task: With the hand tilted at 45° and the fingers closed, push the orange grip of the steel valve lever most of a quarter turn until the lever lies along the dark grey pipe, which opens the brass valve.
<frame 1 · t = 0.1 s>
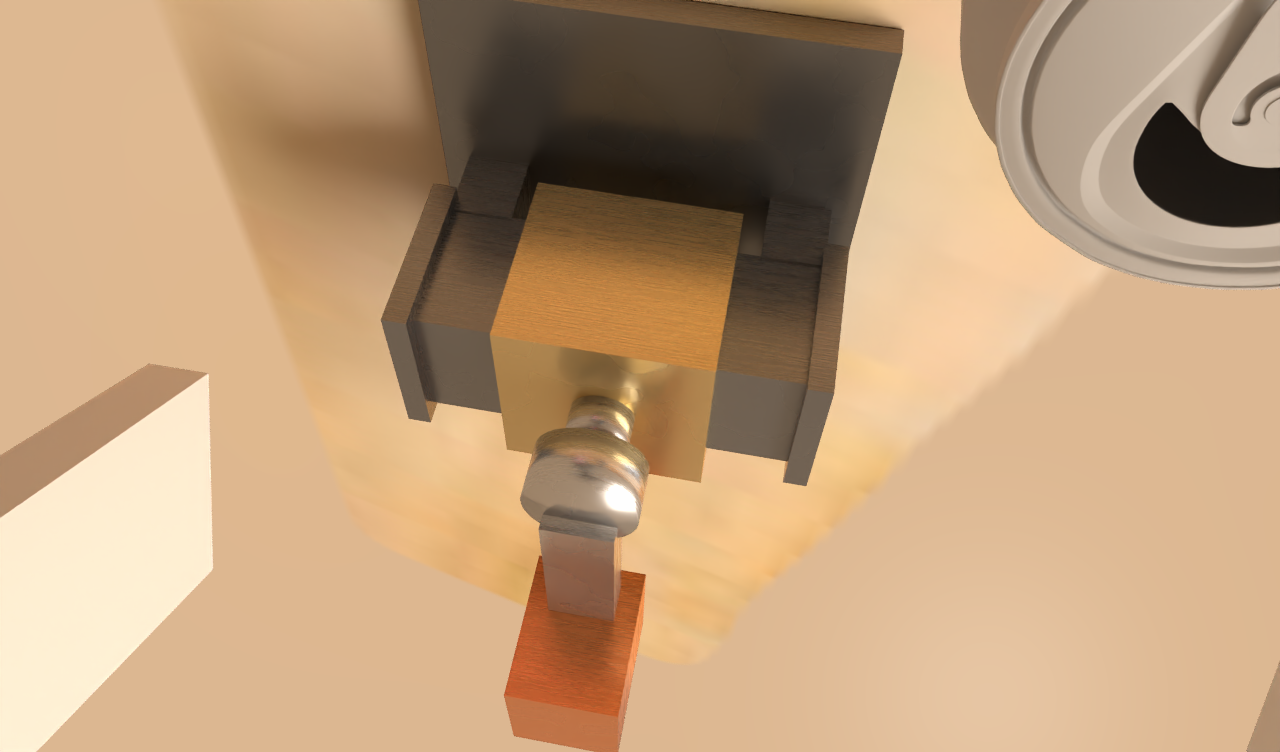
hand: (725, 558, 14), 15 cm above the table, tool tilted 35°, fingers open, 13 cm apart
valve body: (651, 206, 32), on the table
valve lever: (576, 604, 29), point 10 cm above the table, hinge at 0.0°
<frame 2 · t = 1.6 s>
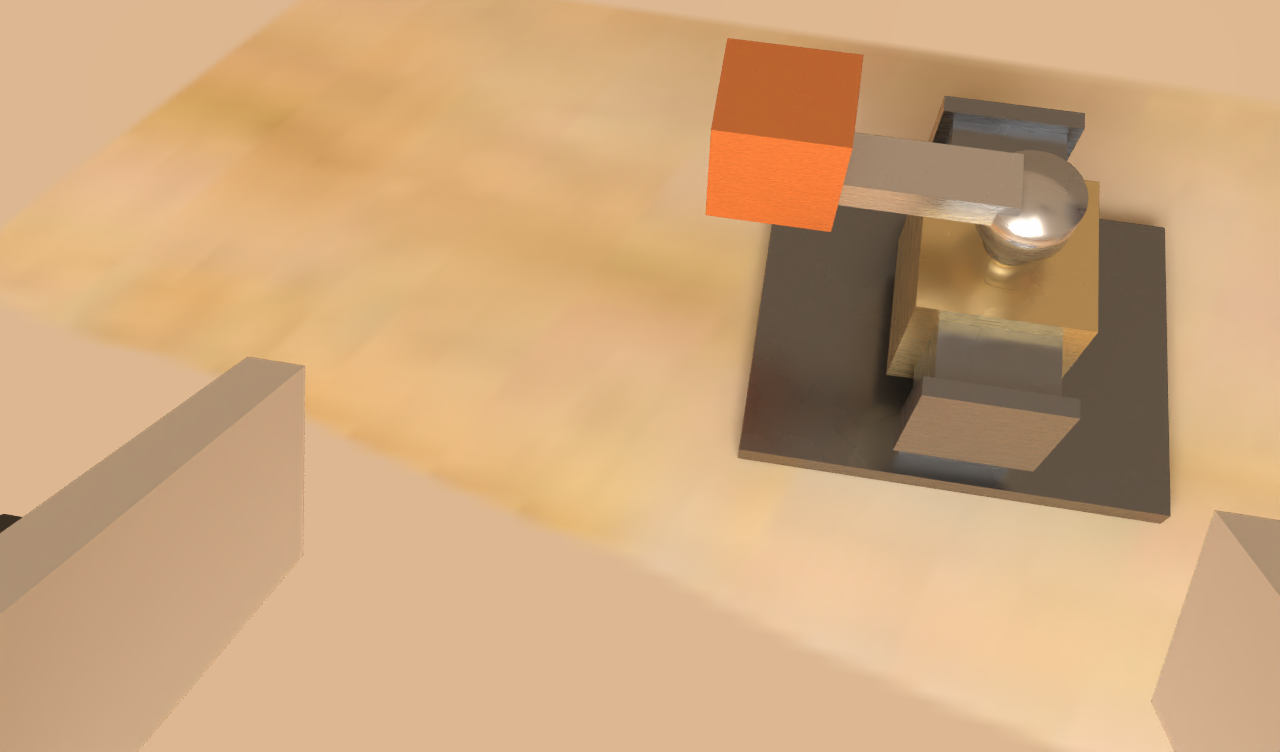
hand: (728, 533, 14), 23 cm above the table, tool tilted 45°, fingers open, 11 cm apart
valve body: (955, 344, 40), on the table
valve lever: (904, 157, 31), point 10 cm above the table, hinge at 0.0°
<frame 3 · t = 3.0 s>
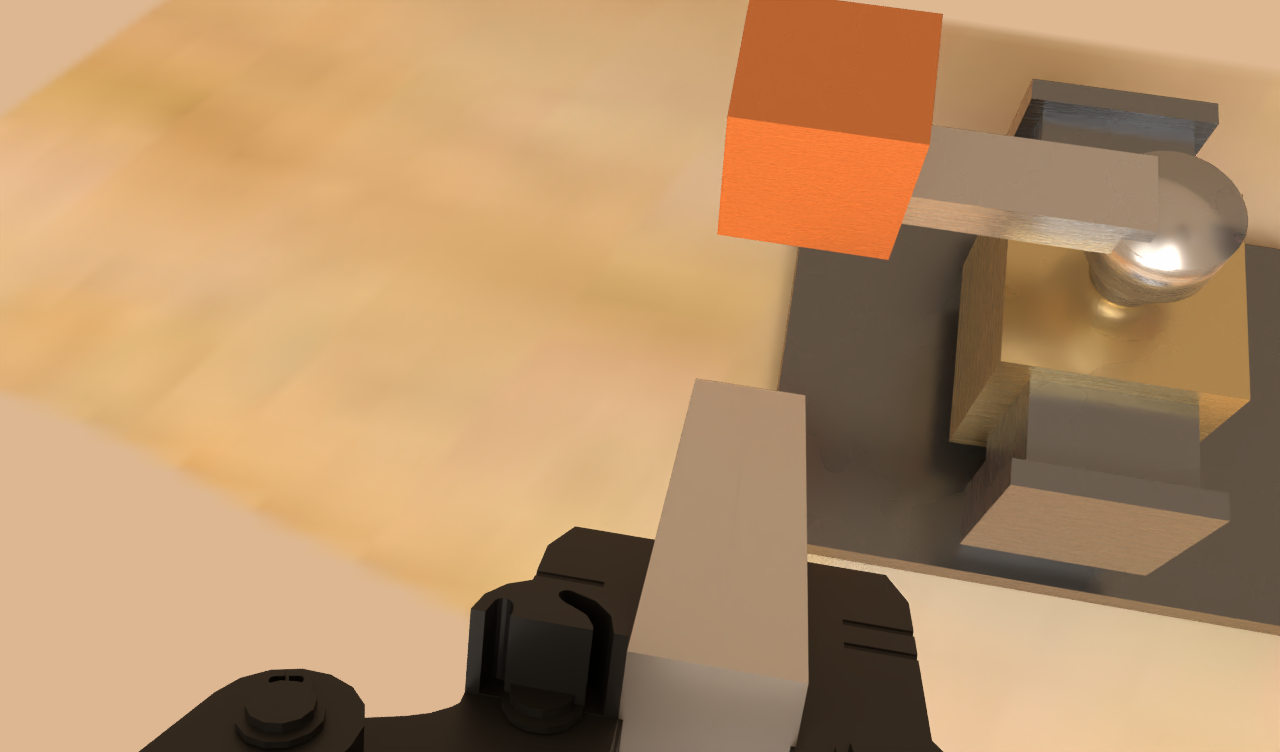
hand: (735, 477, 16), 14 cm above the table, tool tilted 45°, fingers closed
valve body: (1032, 398, 31), on the table
valve lever: (994, 159, 22), point 10 cm above the table, hinge at 0.0°
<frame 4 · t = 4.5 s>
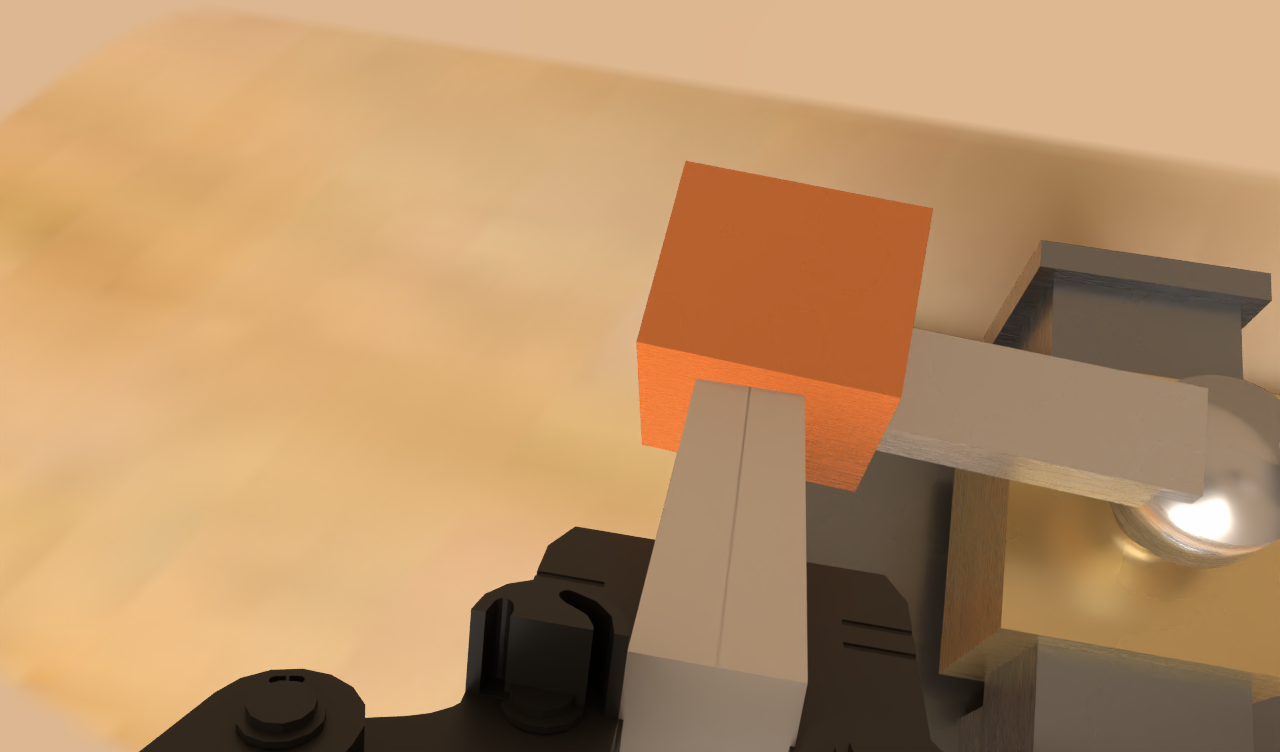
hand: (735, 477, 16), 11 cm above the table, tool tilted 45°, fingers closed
valve body: (1040, 596, 26), on the table
valve lever: (993, 386, 17), point 10 cm above the table, hinge at -3.3°, touching gripper
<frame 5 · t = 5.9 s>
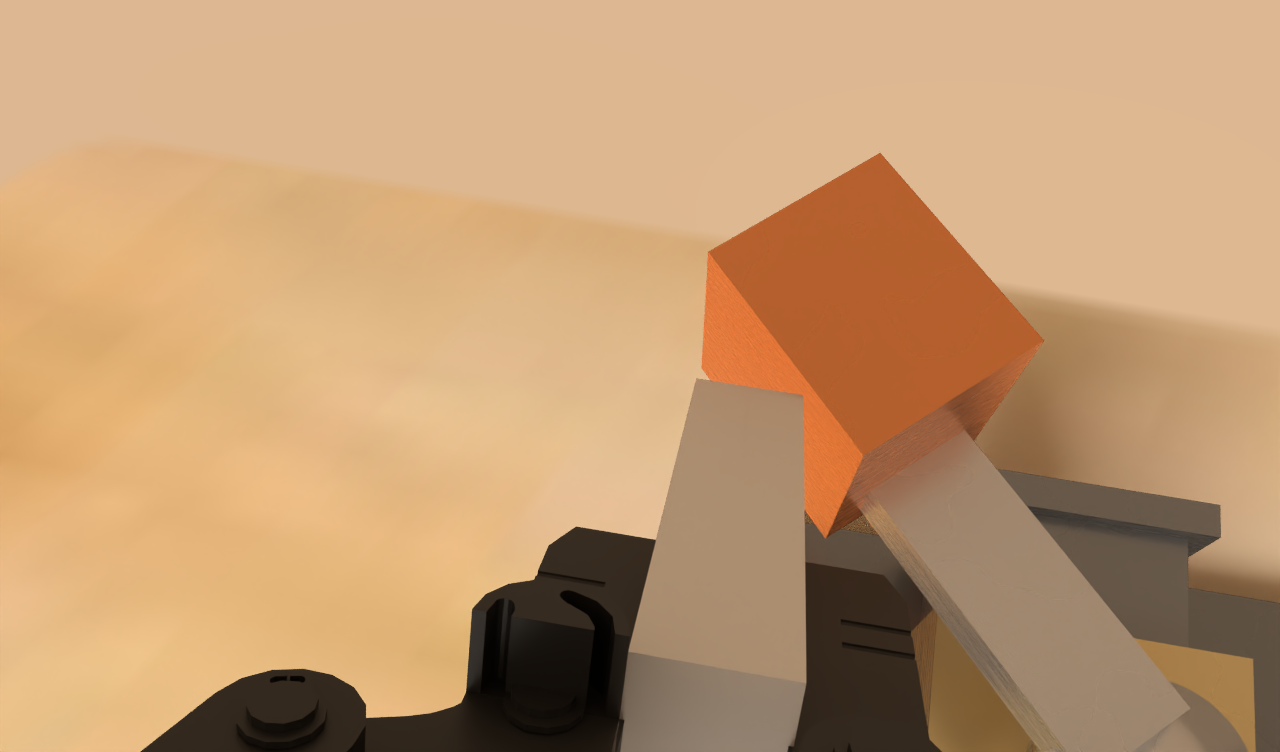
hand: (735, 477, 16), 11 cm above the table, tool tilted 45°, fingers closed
valve lever: (991, 540, 16), point 10 cm above the table, hinge at -47.2°, touching gripper
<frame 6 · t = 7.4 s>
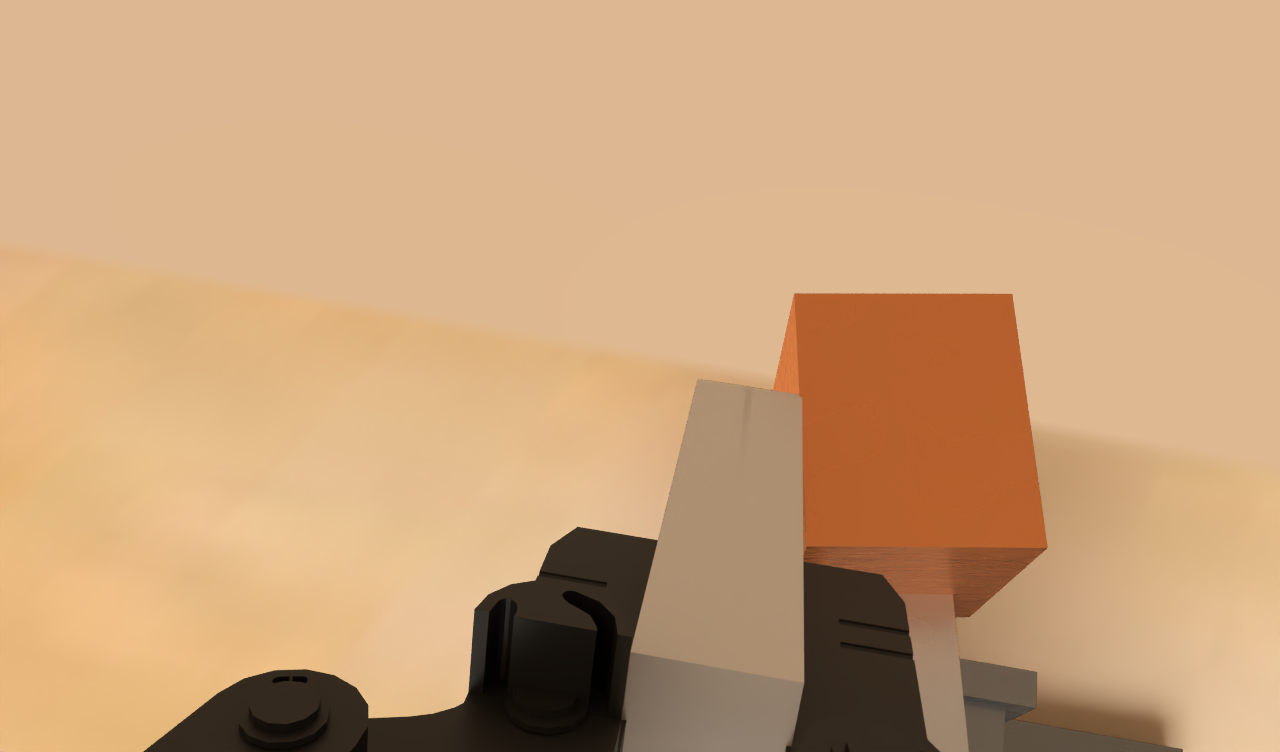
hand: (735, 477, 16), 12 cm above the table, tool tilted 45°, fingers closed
valve lever: (904, 703, 16), point 10 cm above the table, hinge at -80.7°, touching gripper
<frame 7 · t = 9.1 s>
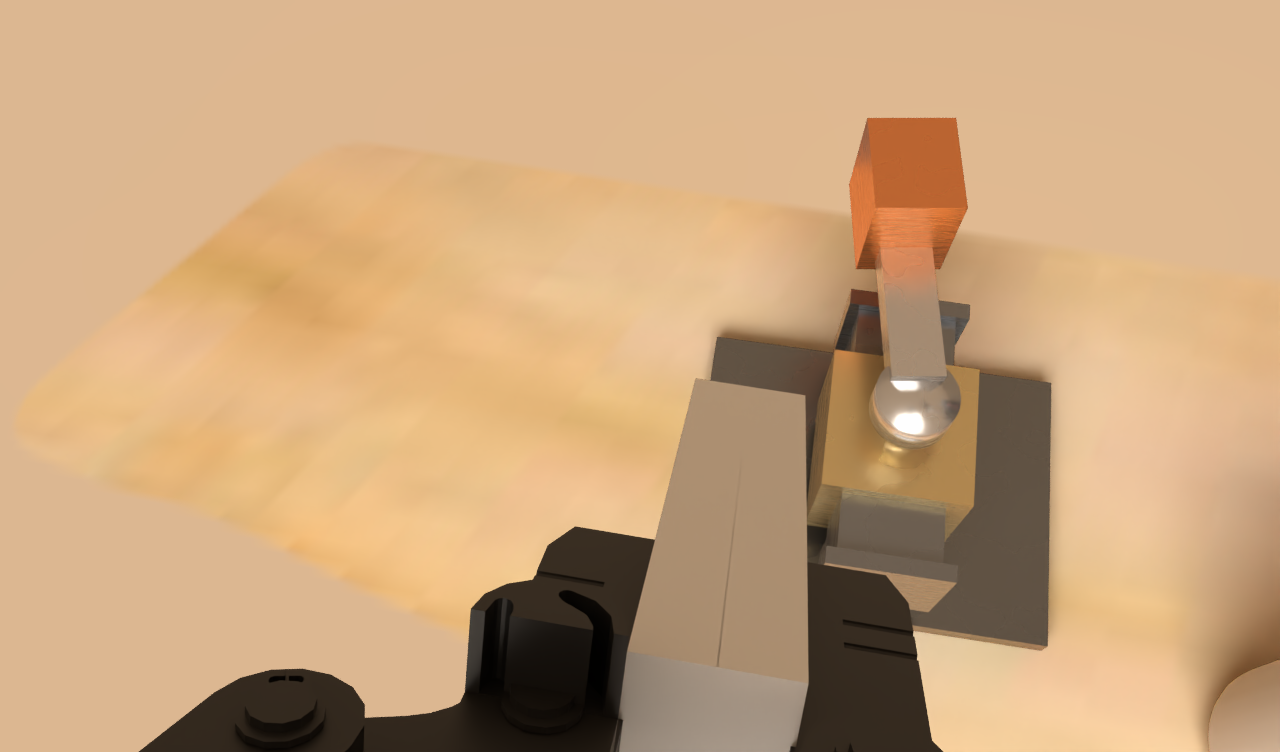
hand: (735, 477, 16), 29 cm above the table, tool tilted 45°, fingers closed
valve body: (868, 488, 46), on the table
valve lever: (912, 282, 38), point 10 cm above the table, hinge at -81.3°
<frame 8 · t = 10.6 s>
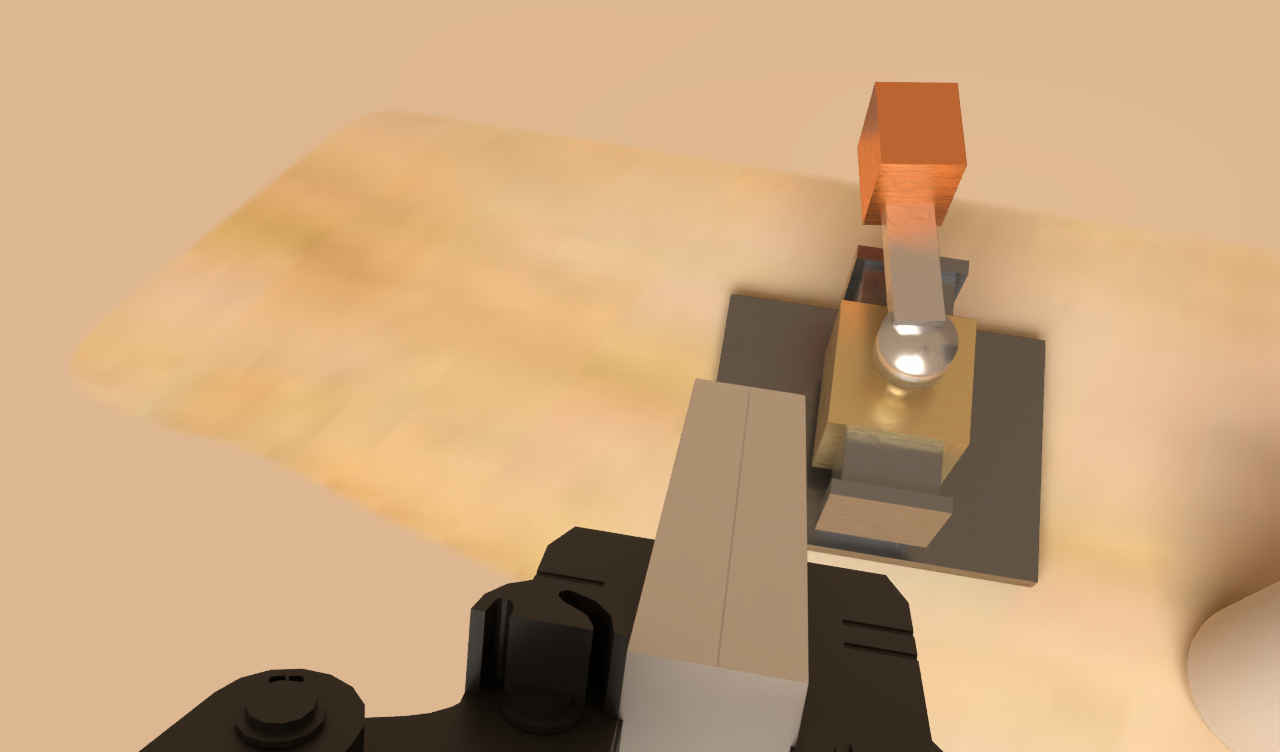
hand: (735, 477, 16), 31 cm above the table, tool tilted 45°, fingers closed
valve body: (872, 436, 49), on the table
valve lever: (915, 235, 41), point 10 cm above the table, hinge at -81.3°
beverage can: (1259, 688, 45), on the table
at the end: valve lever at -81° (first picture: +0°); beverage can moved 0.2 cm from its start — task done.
